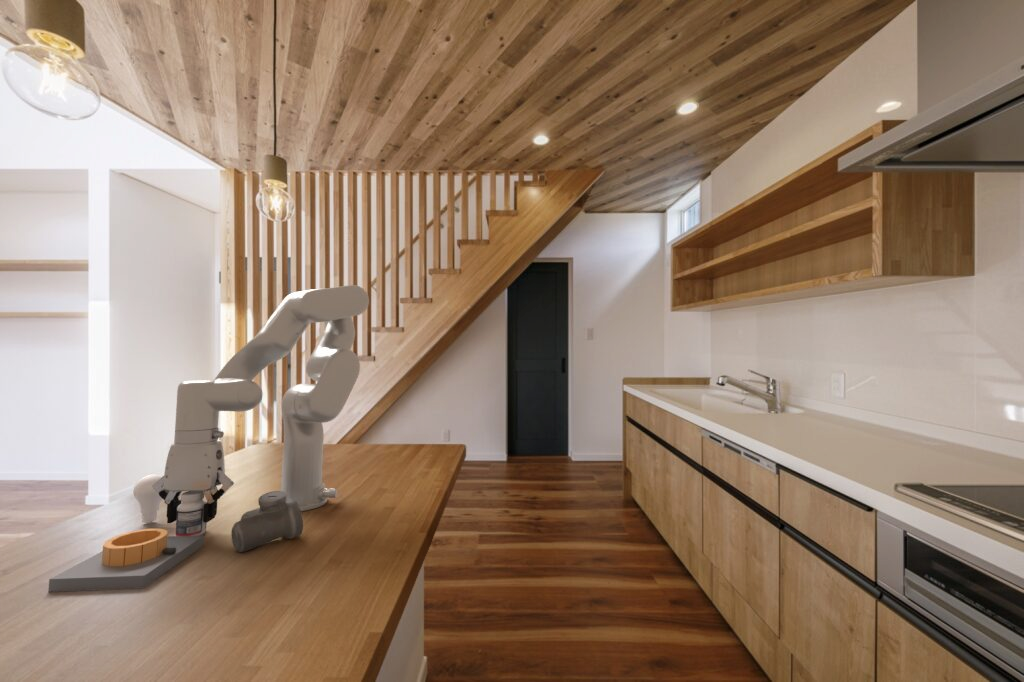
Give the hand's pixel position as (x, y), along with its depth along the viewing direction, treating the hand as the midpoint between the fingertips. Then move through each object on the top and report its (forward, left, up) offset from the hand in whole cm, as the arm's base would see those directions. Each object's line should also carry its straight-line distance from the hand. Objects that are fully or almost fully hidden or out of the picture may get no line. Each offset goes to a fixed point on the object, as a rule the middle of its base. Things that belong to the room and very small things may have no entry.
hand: (191, 519), depth 90 cm
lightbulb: (+13, -7, -3) cm, 15 cm away
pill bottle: (0, 0, -3) cm, 3 cm away
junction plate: (+1, +14, -3) cm, 14 cm away
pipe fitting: (-18, +6, -3) cm, 19 cm away
